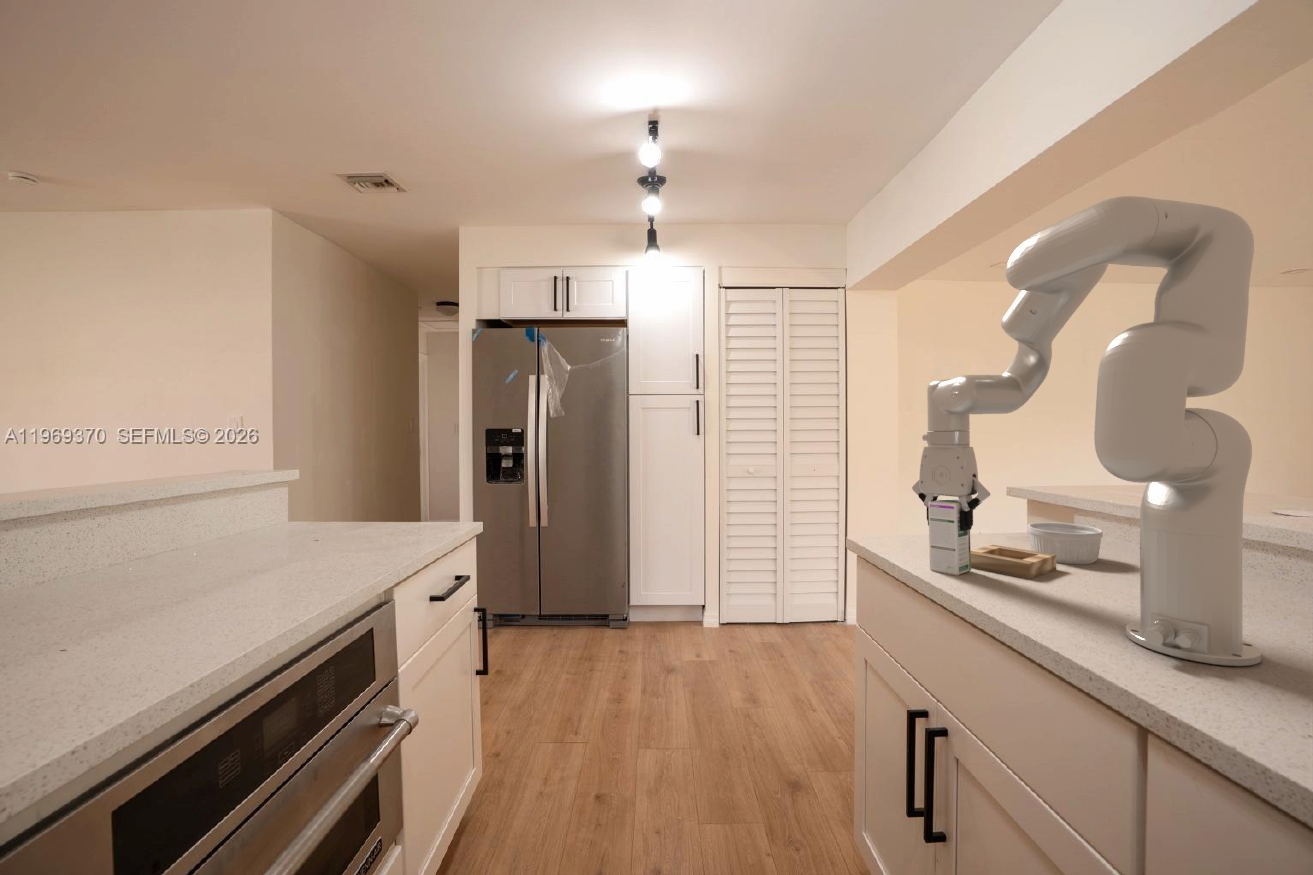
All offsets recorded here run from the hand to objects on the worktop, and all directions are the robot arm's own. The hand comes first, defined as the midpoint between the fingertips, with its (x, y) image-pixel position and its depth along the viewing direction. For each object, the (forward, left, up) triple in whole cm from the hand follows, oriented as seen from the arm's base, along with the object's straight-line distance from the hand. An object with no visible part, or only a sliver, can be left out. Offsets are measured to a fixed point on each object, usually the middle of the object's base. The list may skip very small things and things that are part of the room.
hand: (949, 526), depth 108 cm
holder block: (+12, -6, -9) cm, 16 cm away
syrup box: (0, 0, -9) cm, 9 cm away
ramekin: (+30, -9, -9) cm, 33 cm away
